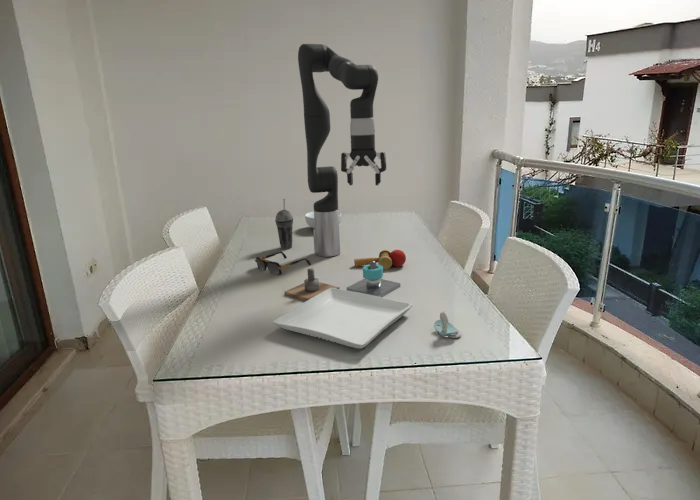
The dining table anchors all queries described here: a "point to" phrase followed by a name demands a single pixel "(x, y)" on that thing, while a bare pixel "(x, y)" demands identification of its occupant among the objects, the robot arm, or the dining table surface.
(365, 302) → the square plate
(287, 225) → the beverage cup
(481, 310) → the dining table surface
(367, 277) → the ring
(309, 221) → the cereal bowl
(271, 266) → the sunglasses
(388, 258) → the kendama
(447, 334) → the pacifier
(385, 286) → the hub
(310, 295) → the rod stand
